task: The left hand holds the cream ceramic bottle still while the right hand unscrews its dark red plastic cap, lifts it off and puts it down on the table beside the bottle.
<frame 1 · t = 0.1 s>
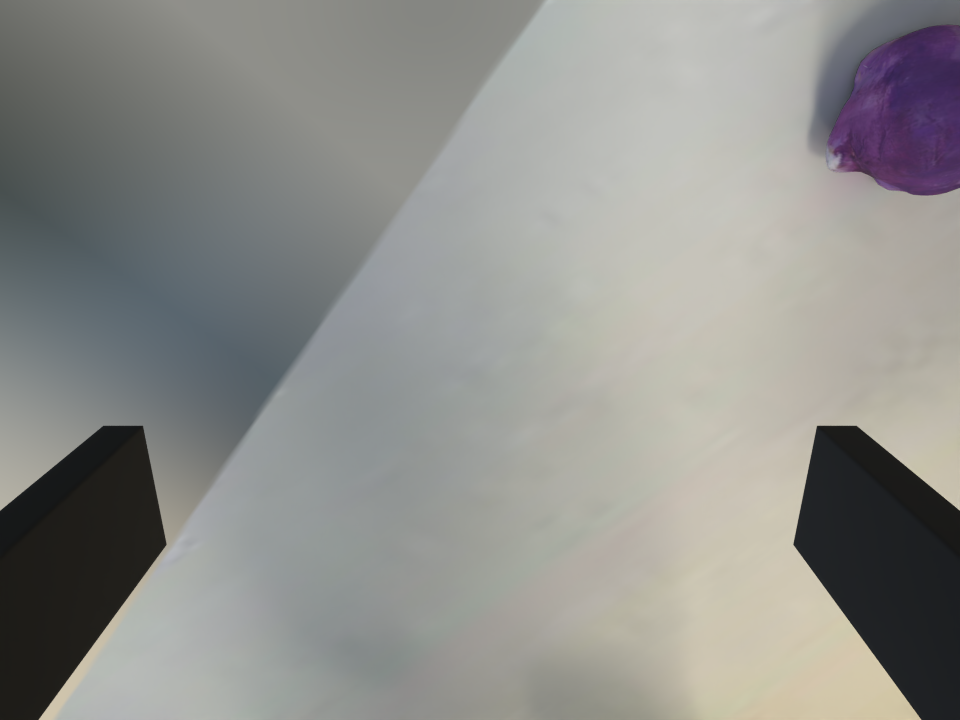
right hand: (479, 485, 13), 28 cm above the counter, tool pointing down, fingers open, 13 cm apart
figurine: (915, 95, 37), on the counter
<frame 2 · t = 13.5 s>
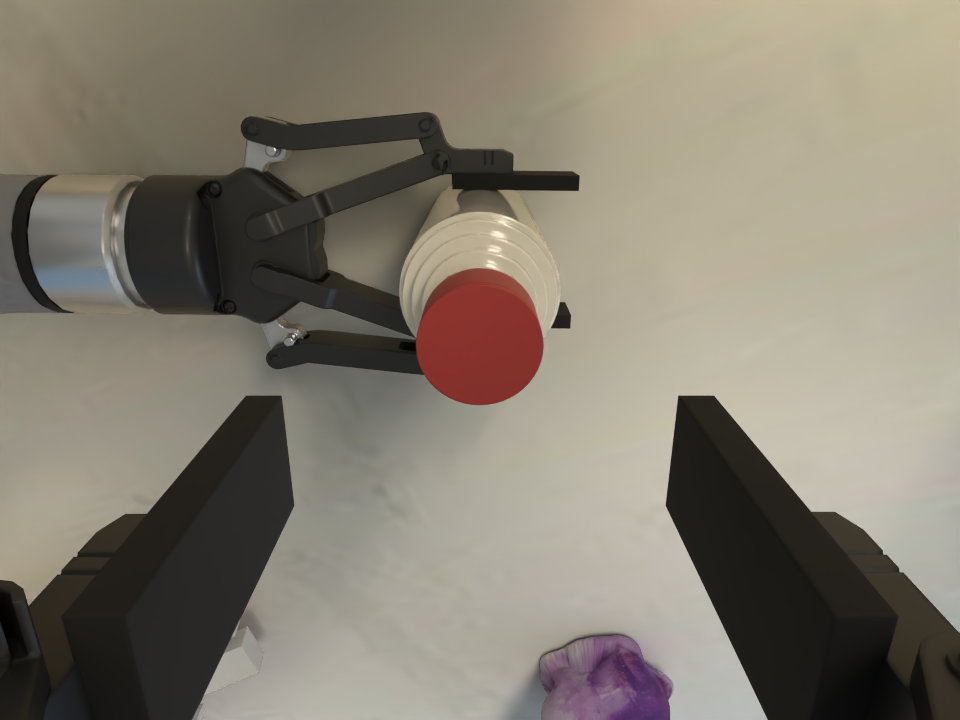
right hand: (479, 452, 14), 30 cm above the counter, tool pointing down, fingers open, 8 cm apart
left hand: (570, 250, 36), fingers closed on bottle, 7 cm apart
cap: (479, 344, 21), point 23 cm above the counter, screwed on, not yet turned
toy: (97, 645, 54), on the counter
bottle: (479, 229, 42), on the counter, touching left hand
figurine: (591, 671, 55), on the counter
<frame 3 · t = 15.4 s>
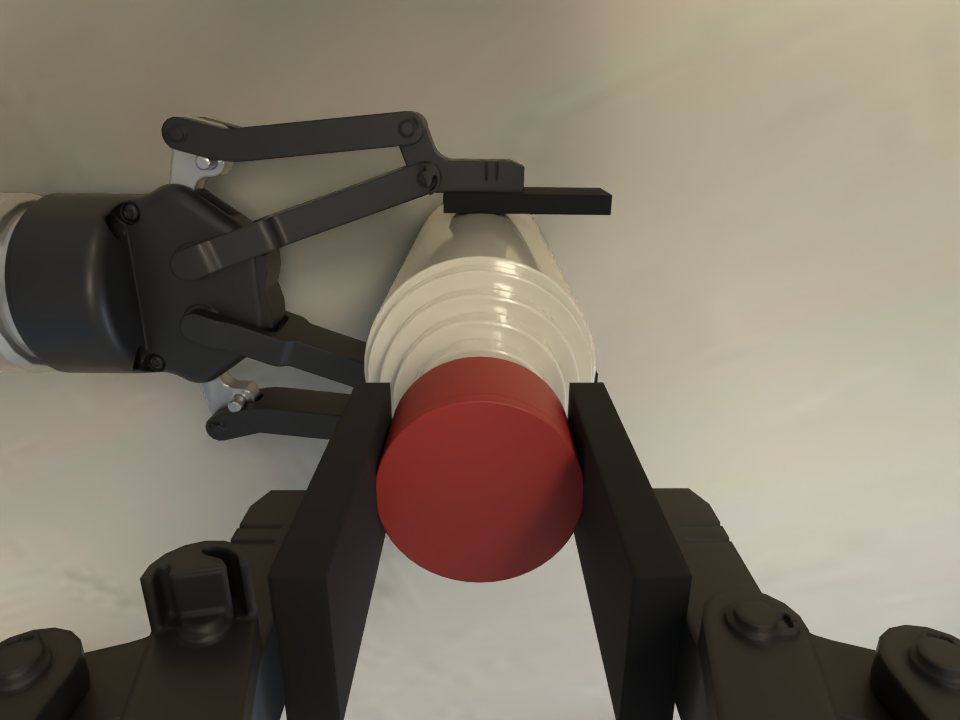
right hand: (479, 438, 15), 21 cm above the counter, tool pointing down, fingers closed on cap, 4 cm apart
left hand: (597, 289, 28), fingers closed on bottle, 7 cm apart
cap: (479, 488, 13), point 23 cm above the counter, screwed on, not yet turned, touching right hand
bottle: (480, 256, 34), on the counter, touching left hand
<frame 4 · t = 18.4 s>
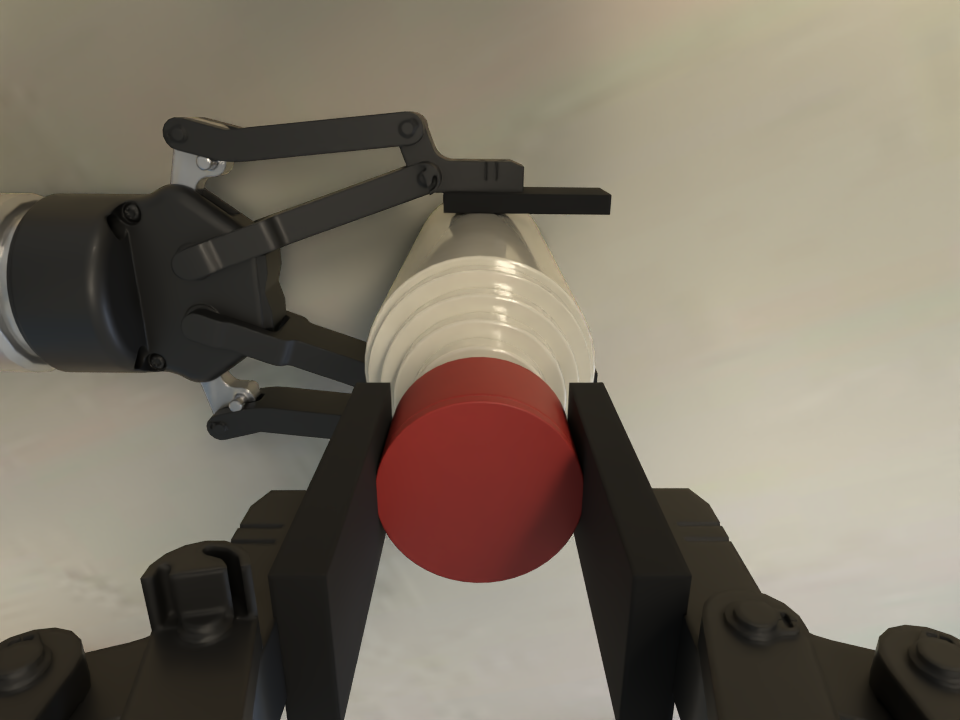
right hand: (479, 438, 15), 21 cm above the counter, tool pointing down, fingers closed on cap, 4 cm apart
left hand: (597, 289, 28), fingers closed on bottle, 7 cm apart
cap: (479, 489, 13), point 23 cm above the counter, turned 88° so far, risen 0.1 cm, still on its thread, touching right hand
bottle: (480, 256, 34), on the counter, touching left hand
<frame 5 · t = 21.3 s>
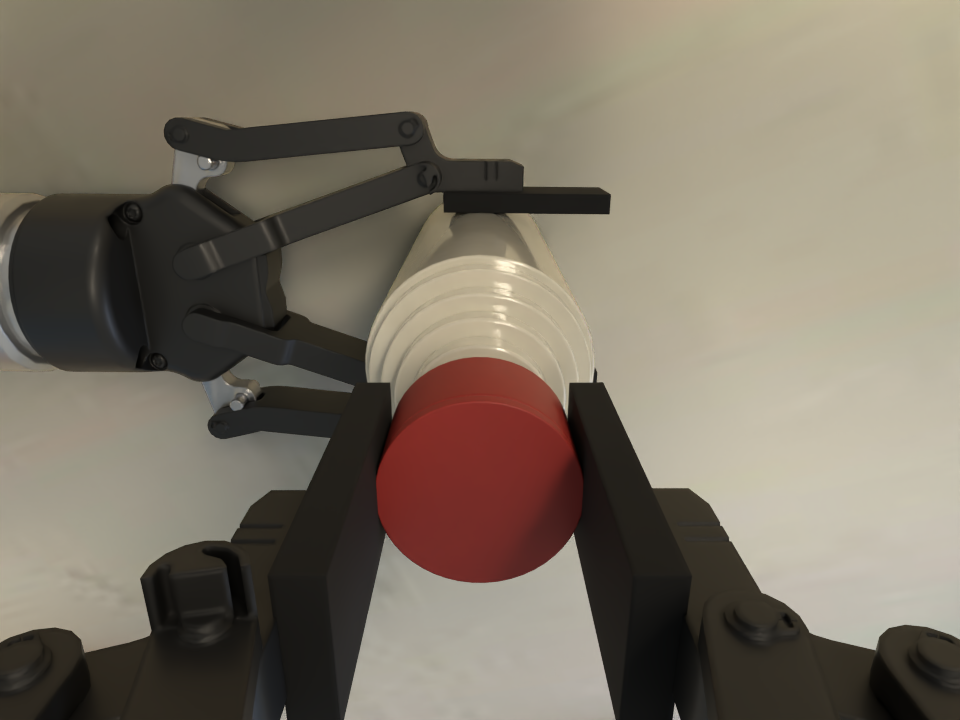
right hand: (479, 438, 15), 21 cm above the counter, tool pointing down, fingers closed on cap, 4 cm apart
left hand: (596, 288, 28), fingers closed on bottle, 7 cm apart
cap: (479, 489, 13), point 23 cm above the counter, turned 175° so far, risen 0.2 cm, still on its thread, touching right hand
bottle: (480, 256, 34), on the counter, touching left hand
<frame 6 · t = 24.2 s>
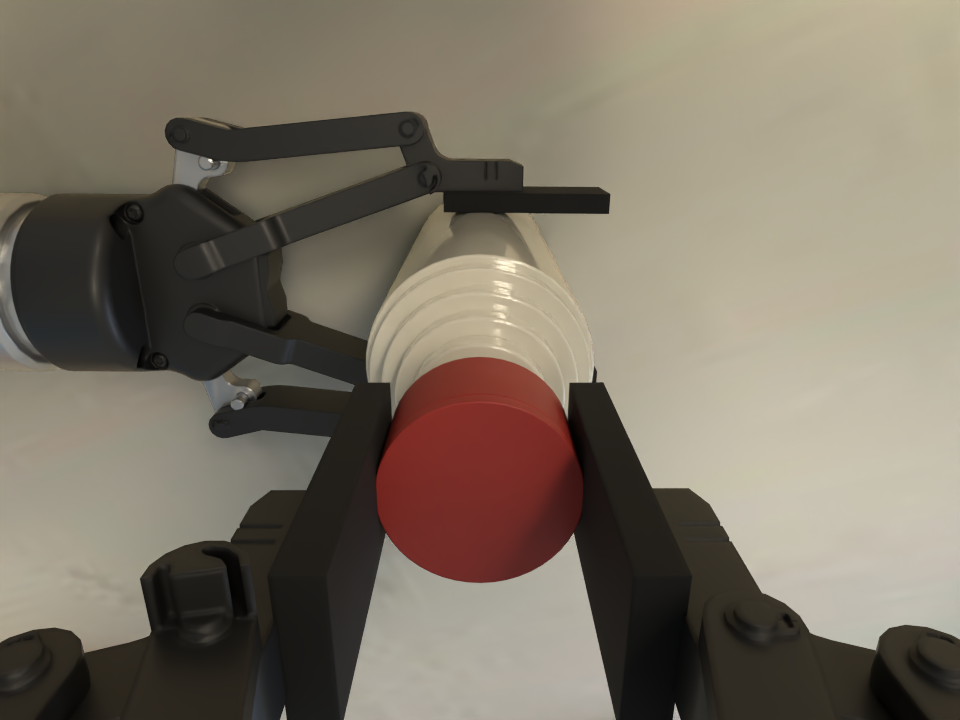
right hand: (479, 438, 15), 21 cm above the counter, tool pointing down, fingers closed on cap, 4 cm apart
left hand: (596, 287, 28), fingers closed on bottle, 7 cm apart
cap: (479, 489, 13), point 23 cm above the counter, turned 263° so far, risen 0.3 cm, still on its thread, touching right hand
bottle: (480, 255, 34), on the counter, touching left hand
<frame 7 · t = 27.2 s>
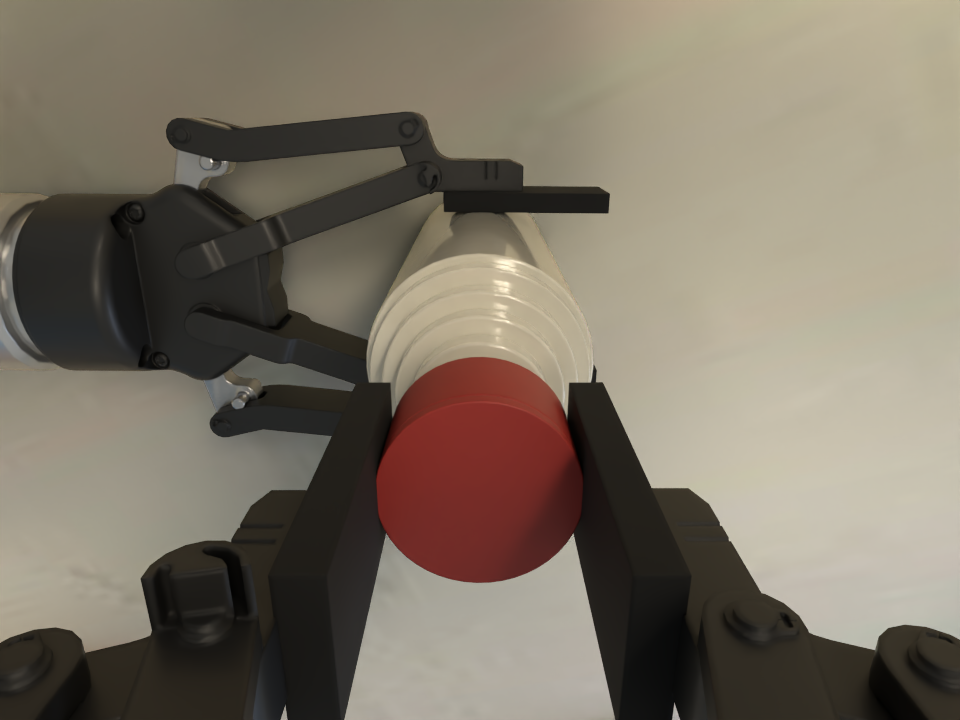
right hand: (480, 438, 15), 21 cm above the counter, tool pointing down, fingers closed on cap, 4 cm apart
left hand: (595, 287, 28), fingers closed on bottle, 7 cm apart
cap: (479, 489, 13), point 23 cm above the counter, turned 350° so far, risen 0.4 cm, still on its thread, touching right hand
bottle: (480, 255, 35), on the counter, touching left hand
when the right hand's fingers open (1 cm above the counter, at t = 34.0 s): cap drops 1 cm, point 2 cm above the counter.
when the left hand's fingers open (7 cm above the counter, at t = 35.2 s): bottle stays where it is, on the counter.
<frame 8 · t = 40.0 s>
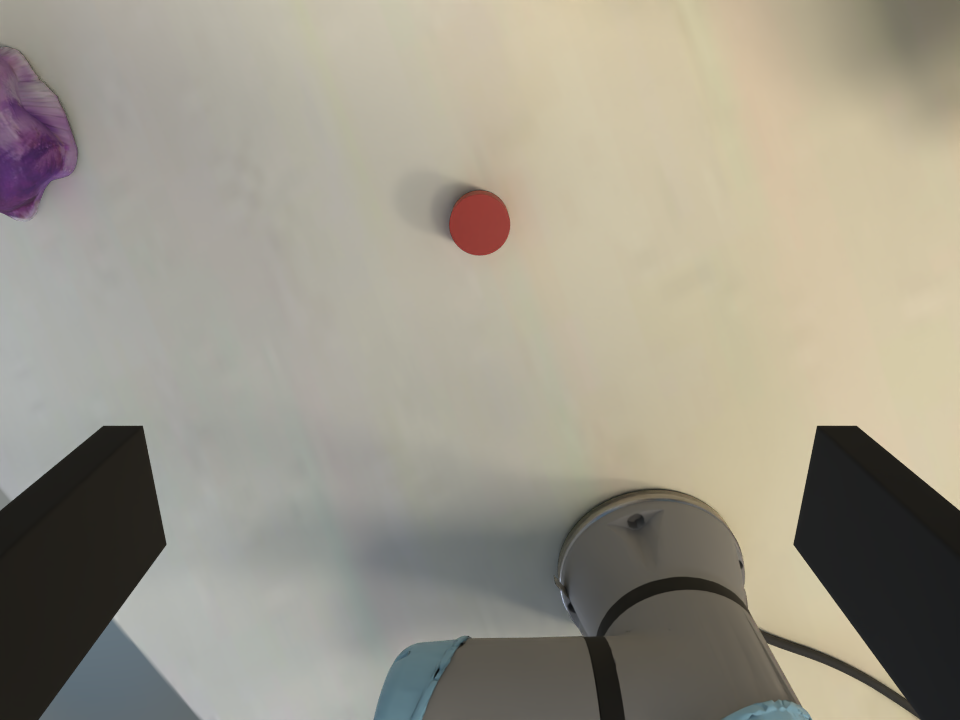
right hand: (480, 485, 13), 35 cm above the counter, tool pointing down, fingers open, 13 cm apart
cap: (479, 224, 44), point 2 cm above the counter, off its thread
figurine: (10, 120, 44), on the counter
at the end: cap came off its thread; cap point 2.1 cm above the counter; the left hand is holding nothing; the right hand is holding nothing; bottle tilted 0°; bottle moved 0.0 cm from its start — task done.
